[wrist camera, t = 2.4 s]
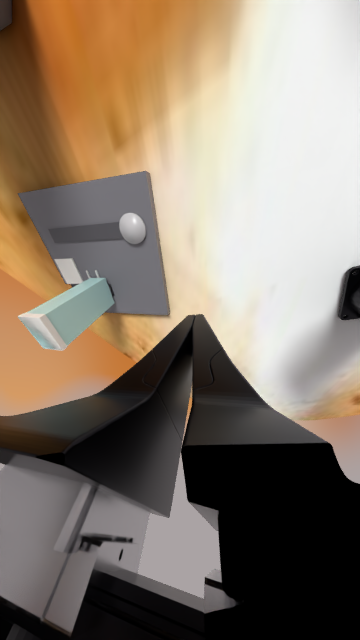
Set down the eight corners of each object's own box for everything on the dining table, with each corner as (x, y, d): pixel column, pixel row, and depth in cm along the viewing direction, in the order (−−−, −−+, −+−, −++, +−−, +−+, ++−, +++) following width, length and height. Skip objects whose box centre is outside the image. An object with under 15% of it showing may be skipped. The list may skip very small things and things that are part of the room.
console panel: (149, 172, 15) (143, 170, 14) (170, 311, 24) (167, 316, 23) (26, 194, 19) (13, 193, 18) (84, 308, 28) (78, 312, 27)
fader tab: (108, 275, 22) (39, 317, 14) (117, 300, 25) (62, 350, 16) (93, 275, 23) (17, 316, 14) (103, 300, 25) (43, 348, 17)
